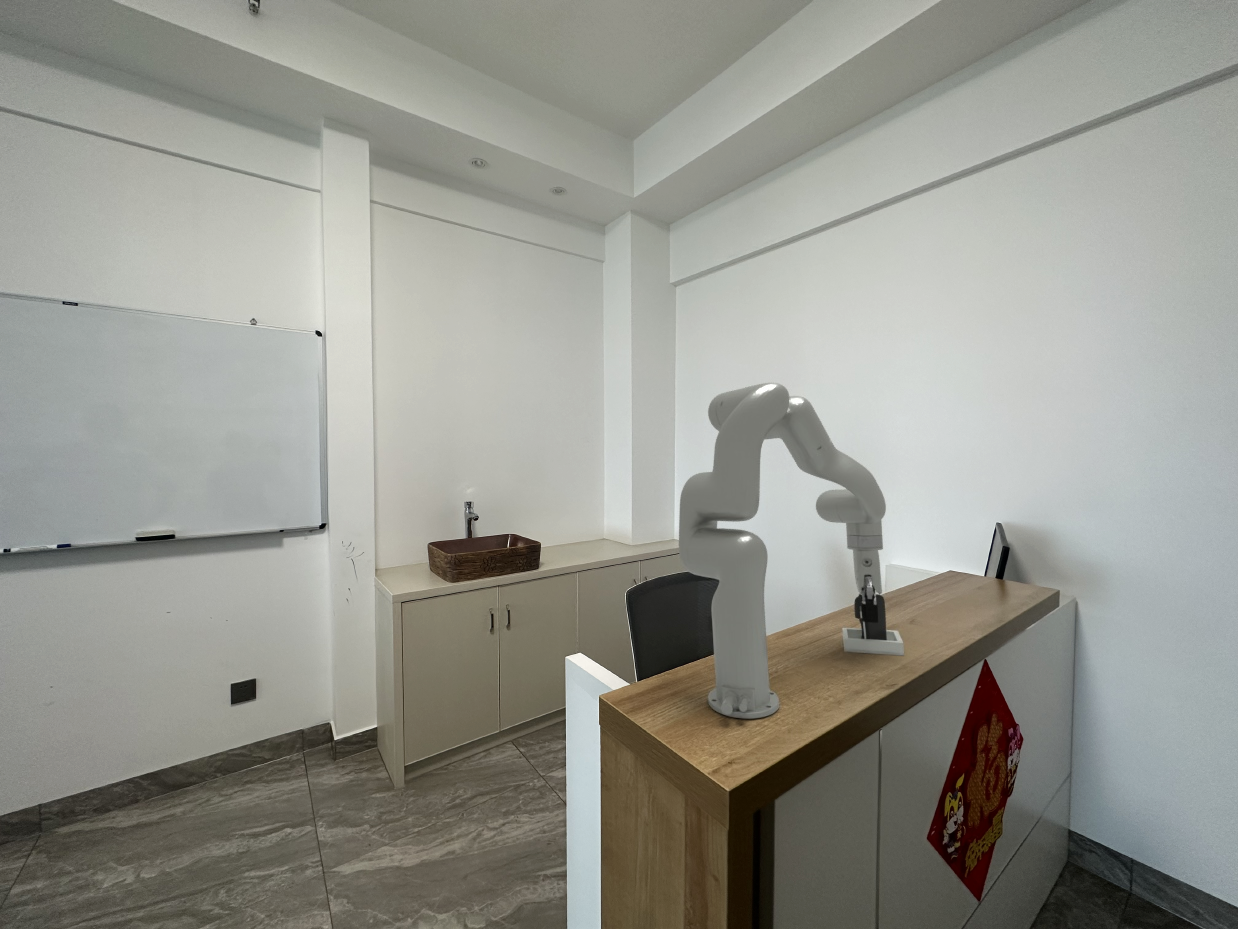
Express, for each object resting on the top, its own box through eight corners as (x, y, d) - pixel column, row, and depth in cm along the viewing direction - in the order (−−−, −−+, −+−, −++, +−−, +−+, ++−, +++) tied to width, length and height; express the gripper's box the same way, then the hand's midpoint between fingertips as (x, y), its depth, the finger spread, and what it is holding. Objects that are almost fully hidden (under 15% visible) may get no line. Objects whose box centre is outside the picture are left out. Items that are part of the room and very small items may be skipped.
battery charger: (873, 638, 122) (870, 590, 122) (888, 643, 118) (885, 593, 119) (854, 644, 119) (850, 595, 119) (868, 649, 115) (865, 598, 115)
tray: (904, 655, 112) (903, 642, 112) (844, 651, 116) (843, 639, 116) (898, 642, 120) (897, 630, 120) (843, 639, 124) (842, 627, 125)
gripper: (886, 547, 109) (891, 628, 108) (878, 538, 125) (882, 608, 125) (848, 546, 112) (852, 625, 111) (845, 538, 128) (849, 607, 127)
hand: (868, 616), depth 118 cm, fingers open, 9 cm apart
